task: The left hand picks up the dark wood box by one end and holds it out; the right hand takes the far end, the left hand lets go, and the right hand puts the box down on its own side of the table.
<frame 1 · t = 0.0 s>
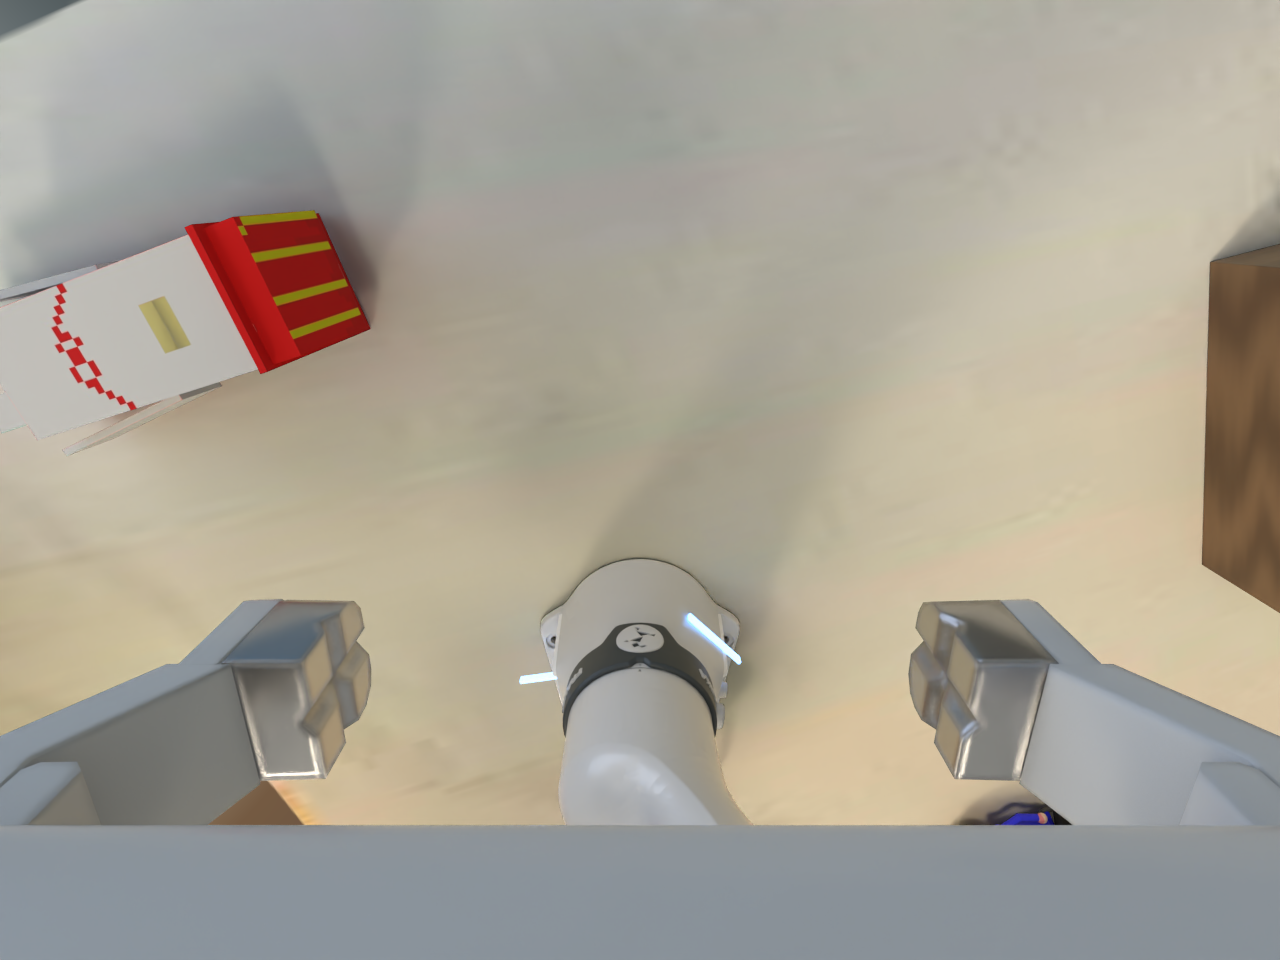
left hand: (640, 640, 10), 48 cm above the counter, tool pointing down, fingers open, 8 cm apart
box: (1243, 416, 59), on the counter
toy: (194, 326, 56), on the counter
figurine character: (1012, 820, 75), on the counter
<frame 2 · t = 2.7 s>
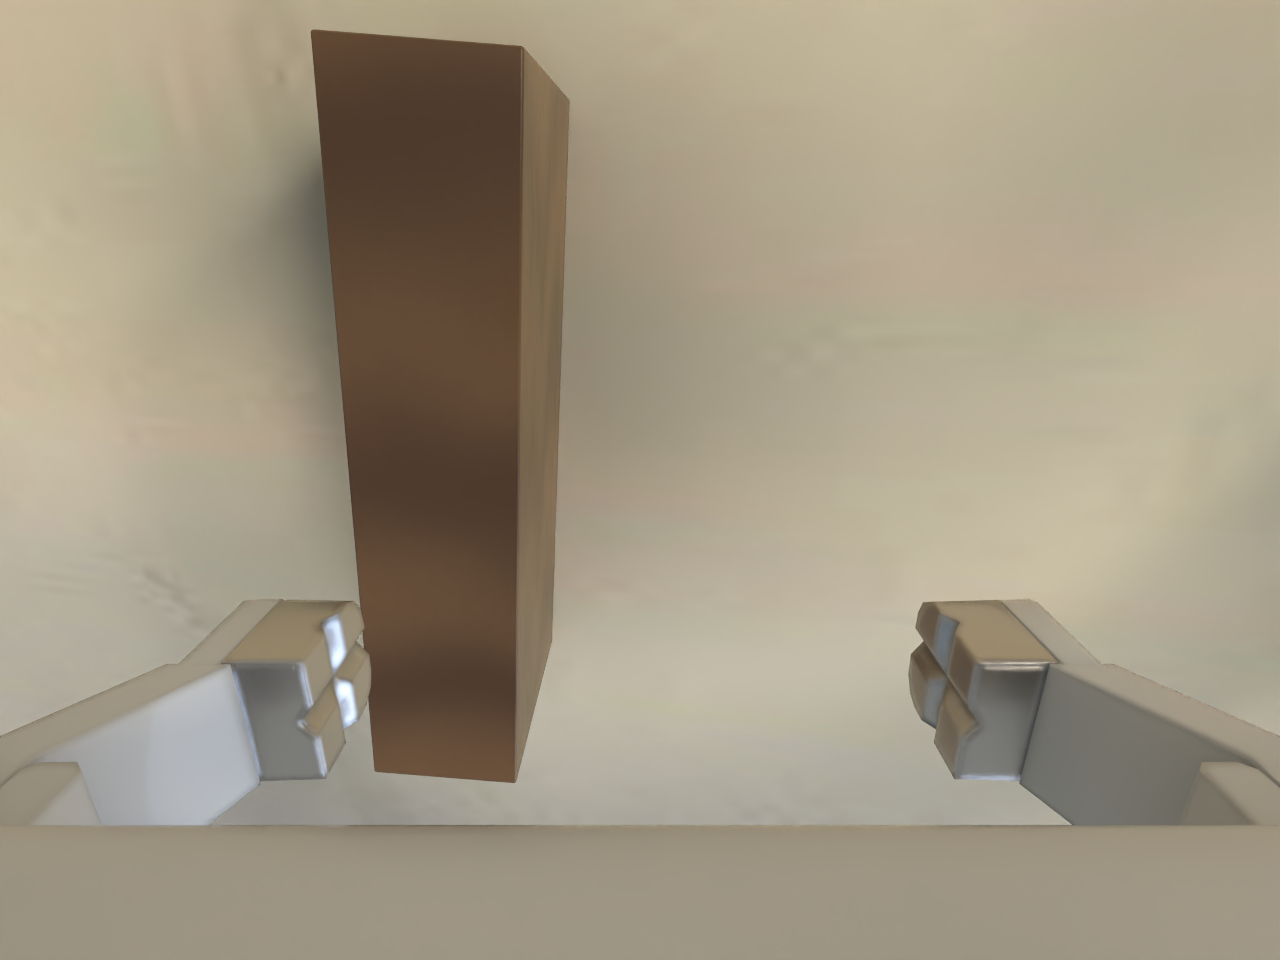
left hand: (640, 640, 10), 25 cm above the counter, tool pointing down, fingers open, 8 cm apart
box: (498, 405, 35), on the counter
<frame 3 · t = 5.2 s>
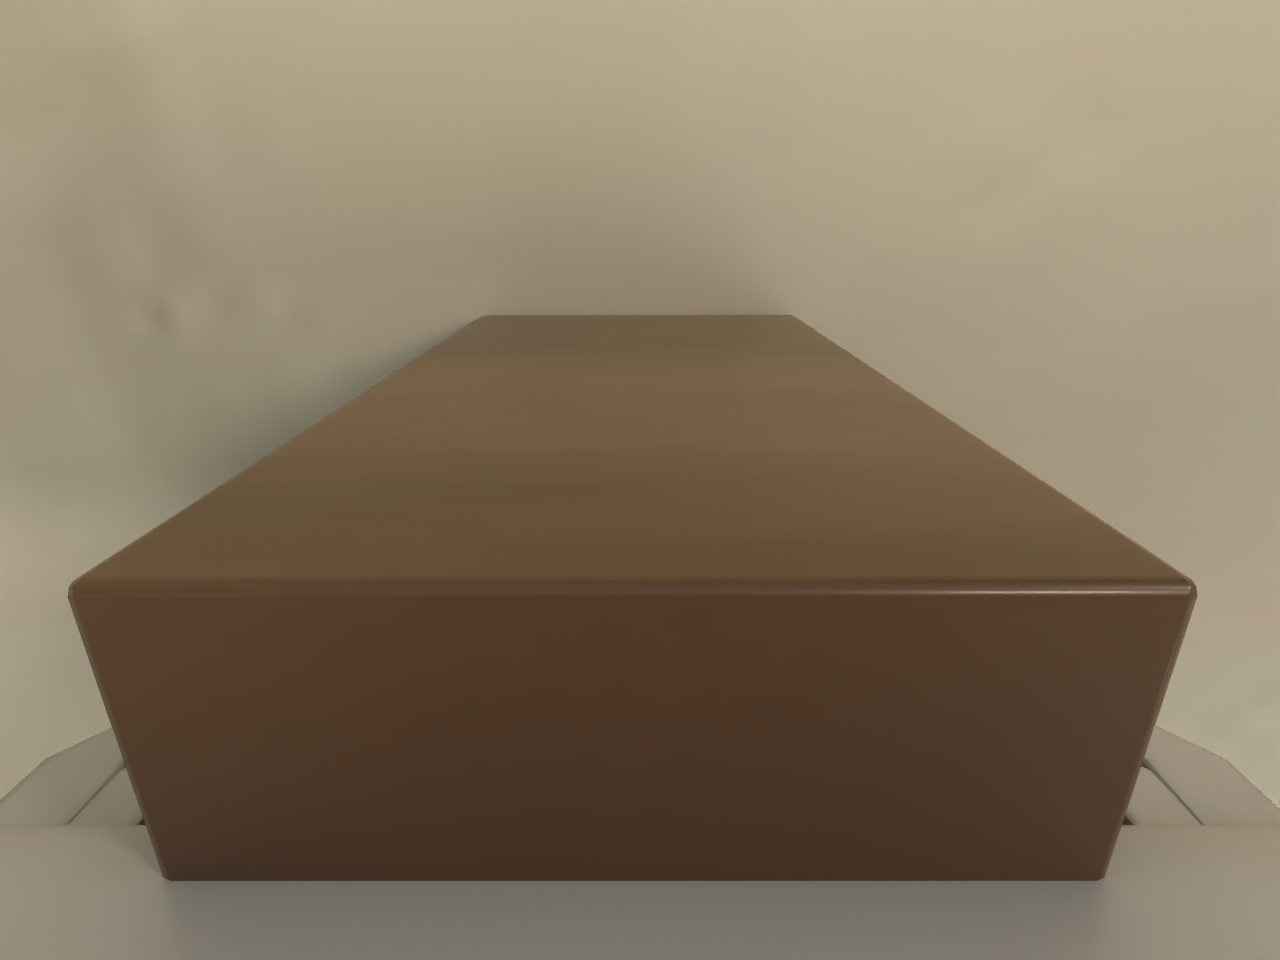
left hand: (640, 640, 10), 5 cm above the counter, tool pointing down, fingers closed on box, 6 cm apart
box: (638, 841, 18), on the counter, touching left hand
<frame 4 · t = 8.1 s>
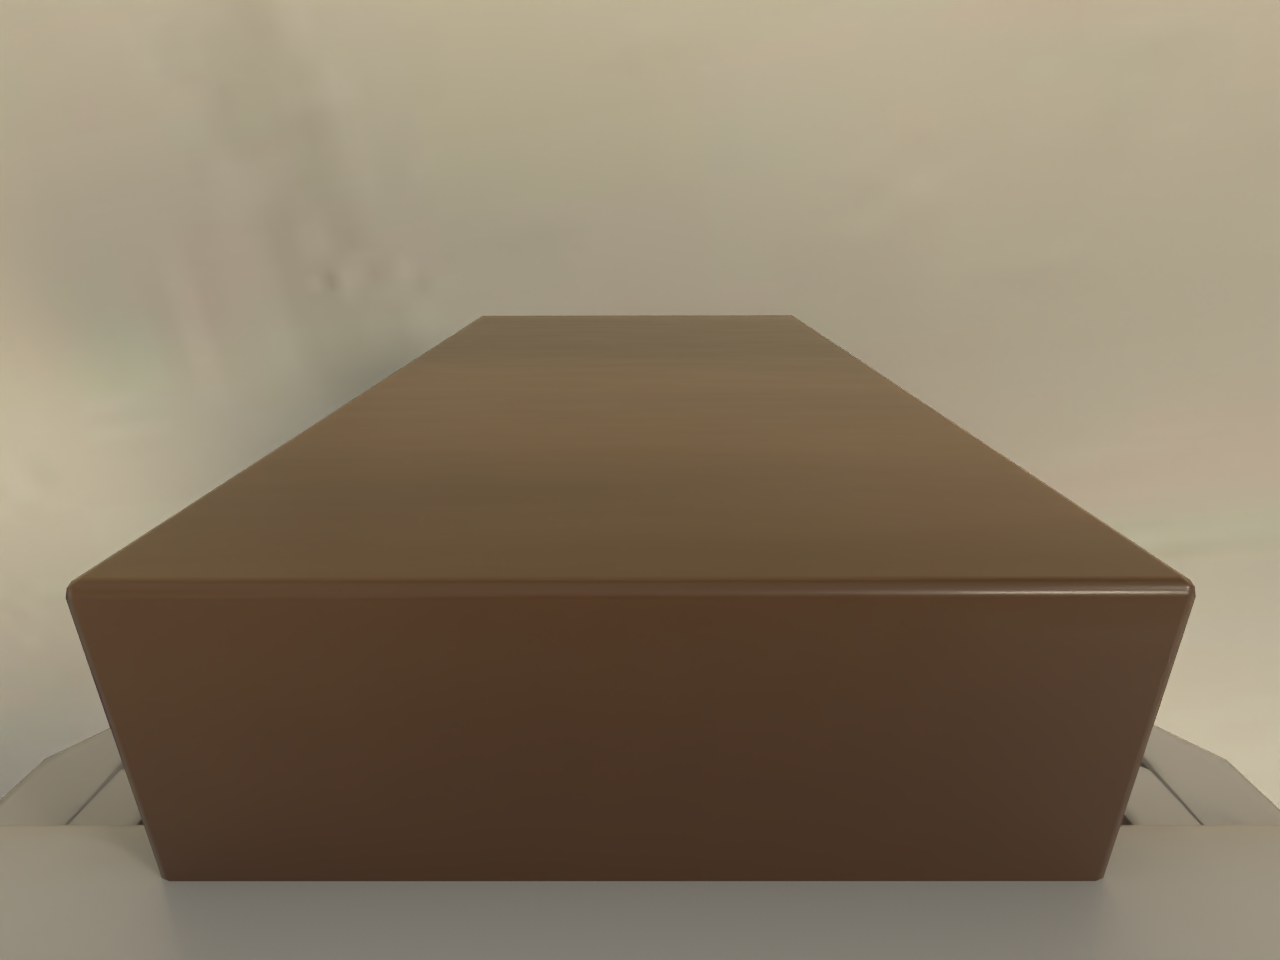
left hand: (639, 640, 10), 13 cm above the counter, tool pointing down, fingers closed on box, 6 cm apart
box: (638, 841, 18), point 8 cm above the counter, touching left hand
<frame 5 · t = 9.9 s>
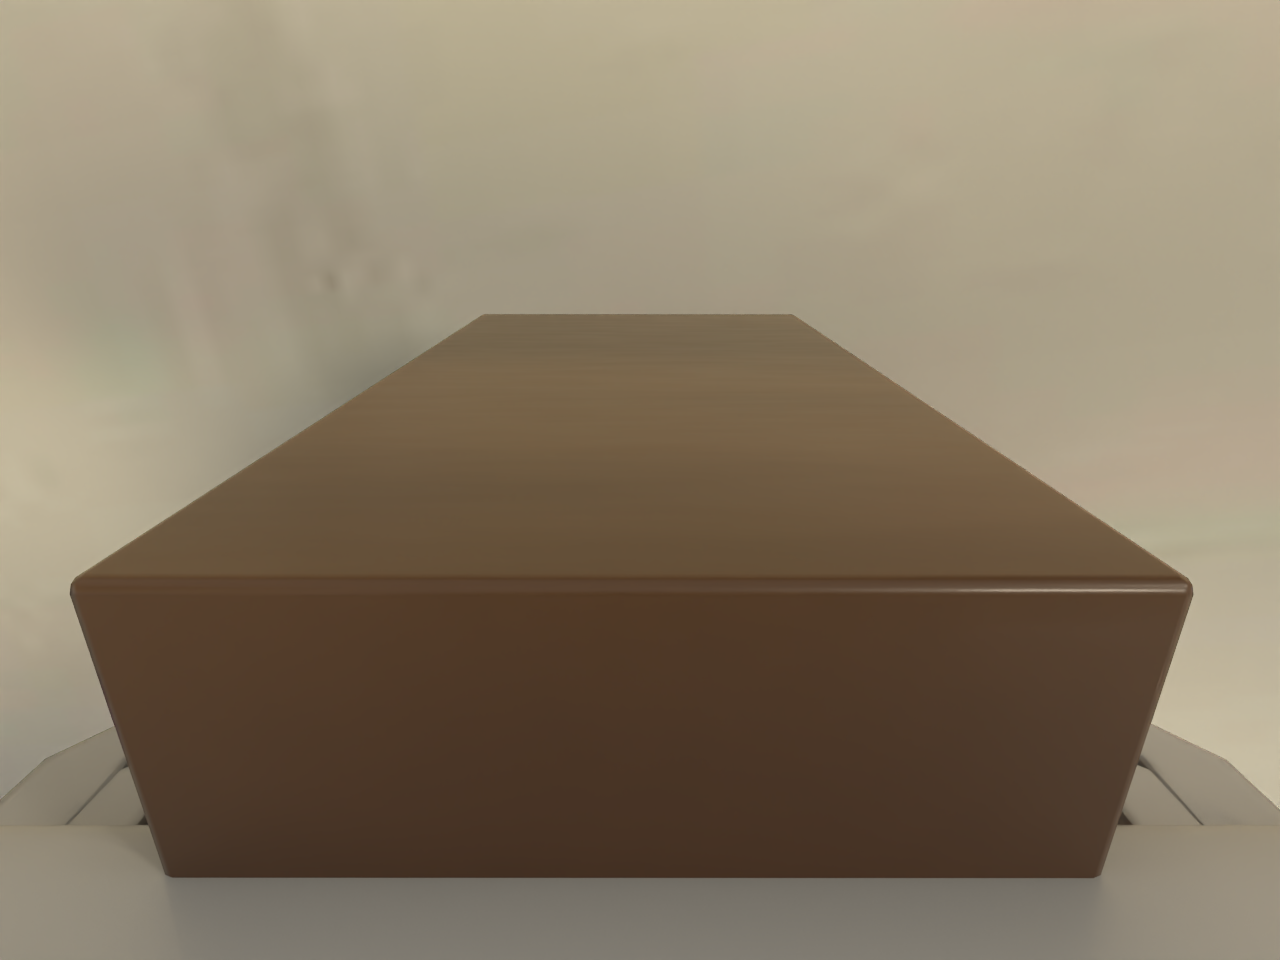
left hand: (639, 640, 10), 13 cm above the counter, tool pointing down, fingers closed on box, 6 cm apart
box: (638, 839, 19), point 8 cm above the counter, touching left hand, right hand
when the left hand's fingers open (13 cm above the counter, at t = 11.0 s): box stays where it is, held by the right hand.
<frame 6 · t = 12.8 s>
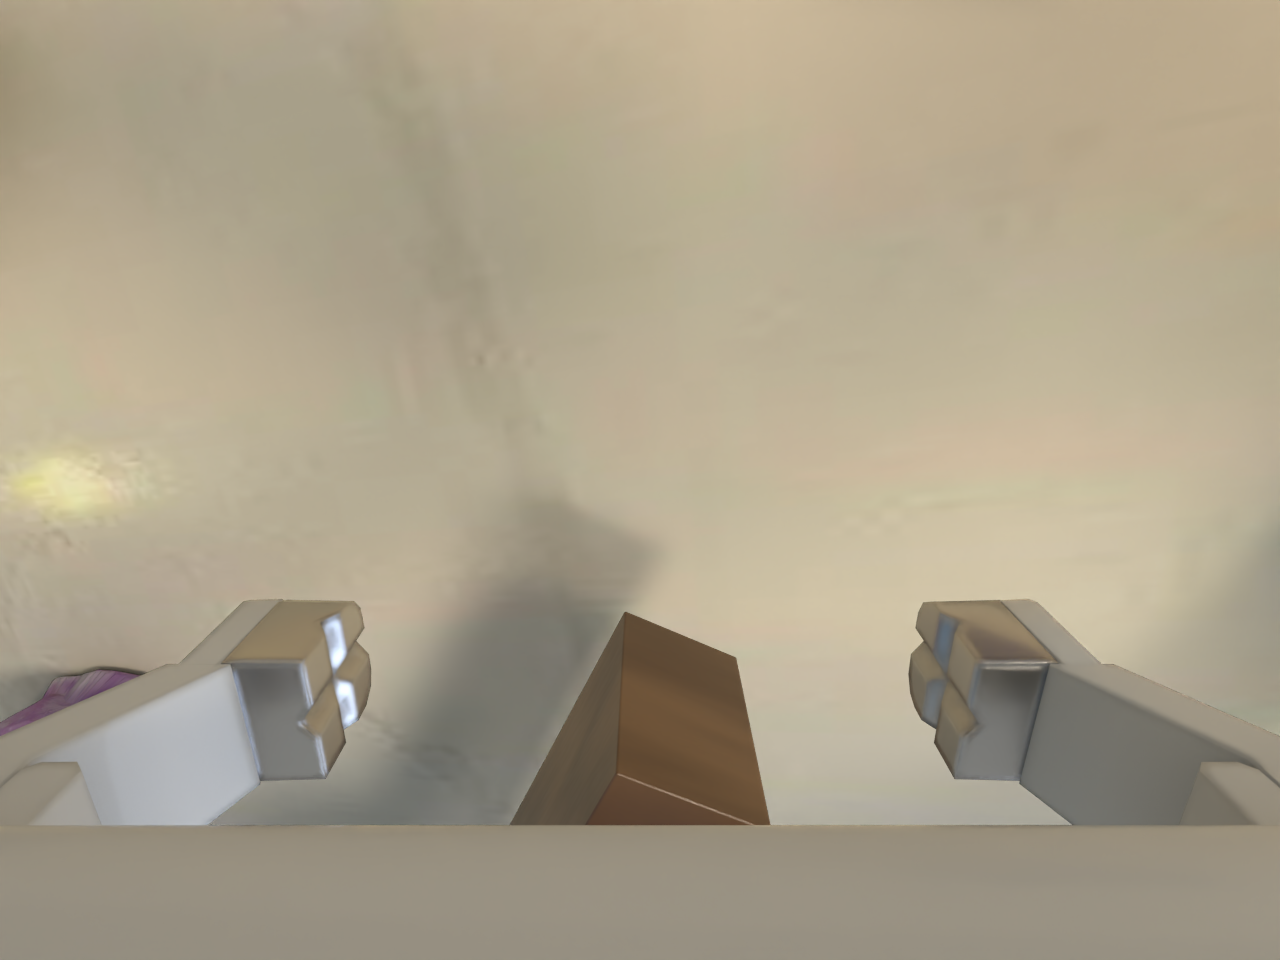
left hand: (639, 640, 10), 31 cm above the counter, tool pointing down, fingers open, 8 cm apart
figurine: (119, 713, 49), on the counter
box: (570, 825, 39), point 11 cm above the counter, touching right hand
when the right hand's fingers open (7 cm above the counter, at t = 15.7 s): box stays where it is, on the counter.
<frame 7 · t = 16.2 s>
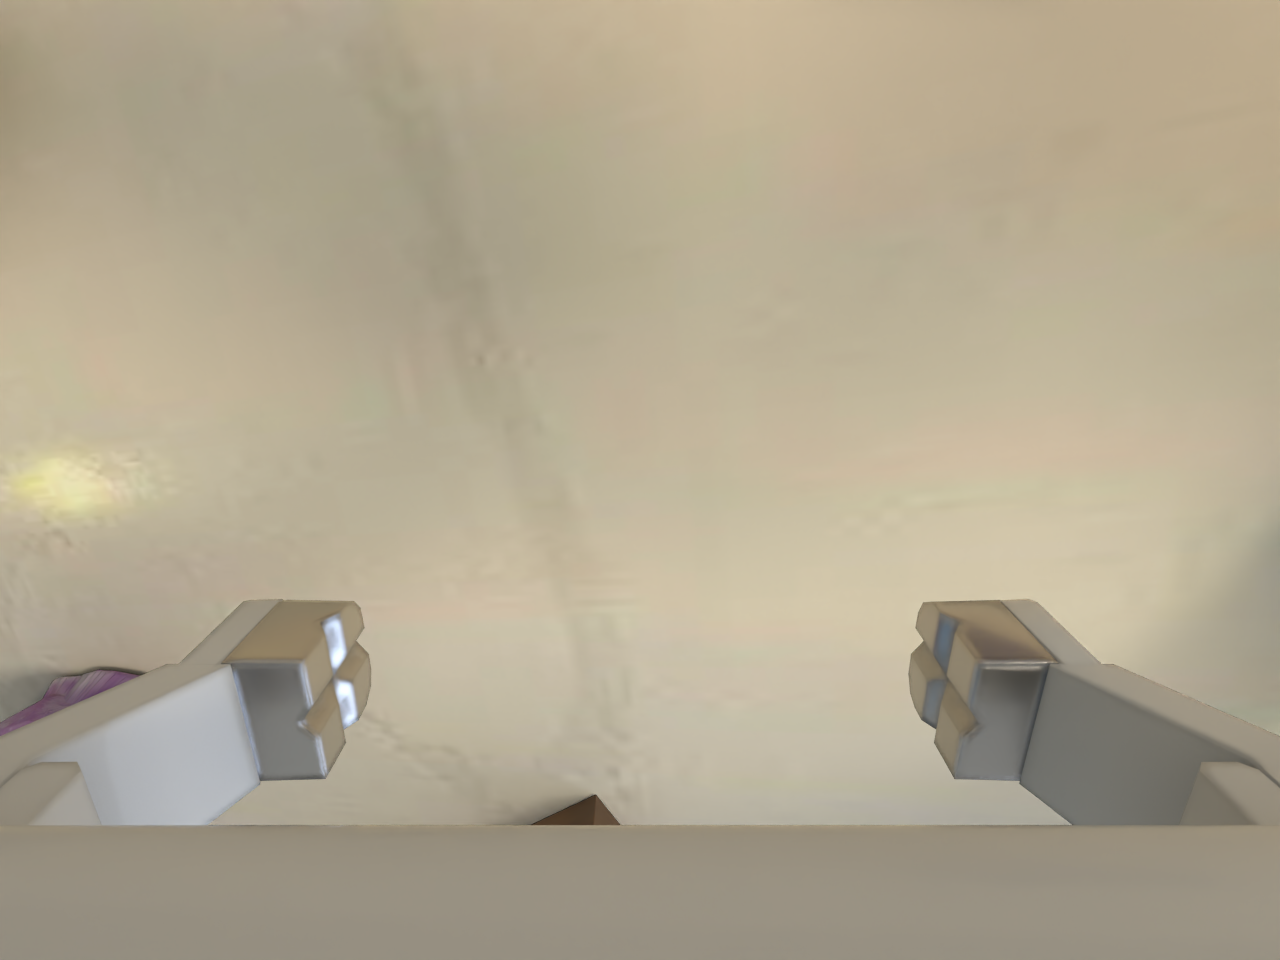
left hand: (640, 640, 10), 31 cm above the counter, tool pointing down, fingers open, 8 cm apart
figurine: (119, 713, 49), on the counter
box: (470, 888, 55), on the counter
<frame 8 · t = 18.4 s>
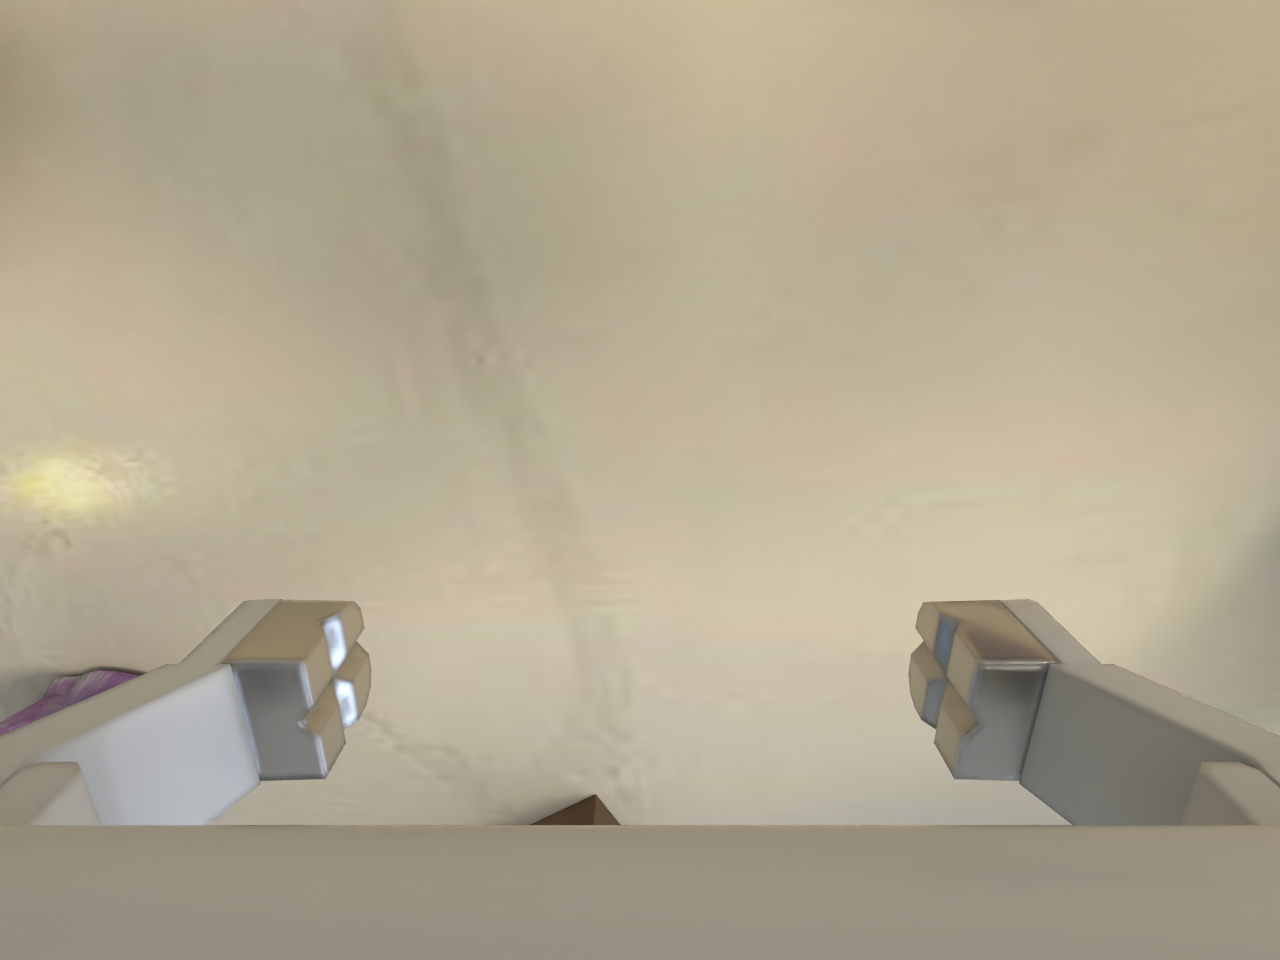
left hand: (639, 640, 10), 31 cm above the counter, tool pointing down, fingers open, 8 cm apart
figurine: (119, 713, 49), on the counter
box: (470, 888, 55), on the counter
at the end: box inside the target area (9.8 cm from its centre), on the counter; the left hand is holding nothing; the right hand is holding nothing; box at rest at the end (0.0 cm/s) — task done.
